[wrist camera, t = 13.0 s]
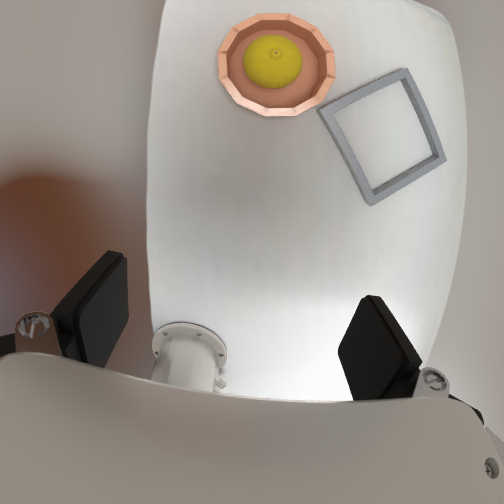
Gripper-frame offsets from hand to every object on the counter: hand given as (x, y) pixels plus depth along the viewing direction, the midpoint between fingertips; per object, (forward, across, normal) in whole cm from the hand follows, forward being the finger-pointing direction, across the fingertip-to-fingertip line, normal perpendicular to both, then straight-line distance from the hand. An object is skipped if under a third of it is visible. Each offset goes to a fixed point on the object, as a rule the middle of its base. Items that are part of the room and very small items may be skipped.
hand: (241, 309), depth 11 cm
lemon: (+23, 0, -14) cm, 27 cm away
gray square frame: (+23, -15, -10) cm, 30 cm away
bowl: (+23, 0, -14) cm, 27 cm away
